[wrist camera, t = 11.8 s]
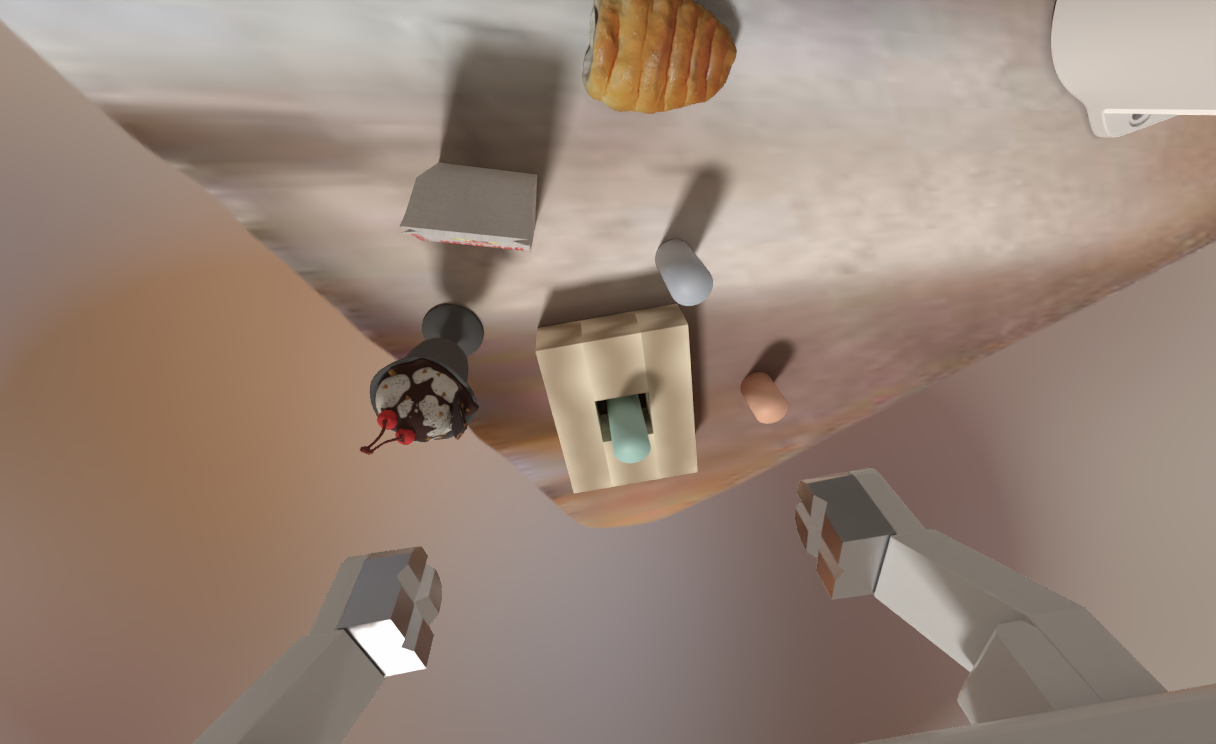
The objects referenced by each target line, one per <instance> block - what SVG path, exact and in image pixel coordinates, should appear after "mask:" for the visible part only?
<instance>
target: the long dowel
mask: <svg viewBox="0 0 1216 744" xmlns="http://www.w3.org/2000/svg"><path fill="white" fill-rule="evenodd" d="M606 403H607V410H608V417H609V424H610V431H611V438H612V445H613V452H614V455H615V457H616V458H617V459H618V460H619V461H621V462H624V463H636V462H639V461H642V460H643V459H645V458H646V457H647V456H648V455H649V453H650V450H651V445H650V441H649V437H648V433H647V429H646V425H645V421H644V417H643V413H642V409H641V405H640V401H639V397H638V394H634V395H629V396H623V397H617V398H611V399H606Z"/></svg>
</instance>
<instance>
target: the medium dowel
mask: <svg viewBox="0 0 1216 744" xmlns="http://www.w3.org/2000/svg"><path fill="white" fill-rule="evenodd" d="M655 263H656V266H657V268H658V270H659V272H660V274H661V276H662V278H663V280H664V282H665V284H666V286H667V288H668V290H669V291H670V293H671V295H672V297H673V299H674V300H675V301H676V302H677V303H679V304H681V305H684V306H693V305H697V304H699V303H701V302H703V301H704V300H705V299H706V298H707V297H708V296H709V294H710V292H711V290H712V287H713V279H712V276H711V274H710V272H709V271H708V270H707V268H706V267H705V266H704V264H703V263H702V262H701V261H700V259H699V258H698V257H697V255H696V254H695V253H694V252H693V250H692V249H691V248H690V246H689V245H688V244H687V243H686V242H684V241H682V240H679V239H672V240H669V241H667V242H665V243H663V244H662V245H661V246H660V247H659V249H658V250H657V253H656V256H655Z"/></svg>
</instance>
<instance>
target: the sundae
mask: <svg viewBox="0 0 1216 744" xmlns="http://www.w3.org/2000/svg"><path fill="white" fill-rule="evenodd" d="M422 332H423V335H424V338H425V341H423V342H422V343H420V344H419V345H418V346H416V347H415V348H414V349H413V350H412V351H411V352H410V353H409V354H408V355H407V356H406V357H405V358H404V359H401V360H398V361H395V362H393V363H391V364H389V365H387V366H386V367H384V368H383V369H381V370H380V371H379V372H378V373H377V374H376V375H375V376H374V378H373V380H372V381H371V385H370V398H371V403H372V406H373V409H374V411H375V413H376V415H377V417H378V418H377V422H378V424H379V425H380V426H381V427H382V431H381V433H380V435H379V436H378V437H377V438H376V440H375V441H374V442H373V443H371V444H370V445H369V446H367V447H366V446H364V447H361V449H360V451H361V452H363V453H366V454H368V455H370V454H372V453H373V451H374V450H376V449H377V448H379V447H380V446H381V445H383V444H385V443H388V442H391V441H396V440H397V441H398V442H399V443H401V444H404V445H408V444H410V443H411V442H413V441H415V442H427V441H430V440H437V439H438V440H440V439H447V438H450V437H453V436H454V437H455V438H456V439H459V438H460V437H461V436H462V435H463V433H464V431H465V430H466V429H467V426H468V424H469V423H470V422H471V420H472V419H473V417H474V414H475V412H476V411H477V410H478V408H479V406H478V405H477V403H476V398H475V395H474V393H473V391H472V390H471V388H470V386H469V385H468V384H467V378H468V361H467V357H466V356H468V355H470V354H472V353H473V352H475V351H476V350H477V349H478V348H479V346H480V345H481V343H482V340H483V329H482V325H481V323H480V321H479V320H478V318H477V317H476V316H475V315H474V314H473V313H472V312H470V311H469V310H467V309H465V308H463V307H461V306H457V305H450V304H449V305H441V306H437V307H436V308H434V309H432V310H431V311H429V312H428V313H427V315H426V316H425V318H424V320H423V324H422ZM385 429H387V430H389V429H391V430H393V431H395V432H396V438H394V439H391V440H387V441H385V442H383V443H382V444H380V445H378V446H377V447H375V448H374V449H372V450H370V447H371V446H372V445H374V444H375V443H376V442H377V441H378V440H379V439H380V437H381V436H382V435H383V433H384V431H385Z"/></svg>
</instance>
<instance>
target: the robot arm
mask: <svg viewBox="0 0 1216 744" xmlns="http://www.w3.org/2000/svg"><path fill="white" fill-rule="evenodd" d="M1051 49H1052V58H1053V62H1054V66H1055V70H1056V72H1057V75H1058V77H1059V79H1060V81H1061V82H1062V84H1063V85H1064V87H1065V88H1066V89H1067V90H1068V91H1069V92H1070V93H1071V94H1072V95H1074V96H1075V97H1076V98H1077V99H1079V100H1080V101H1081V102H1082V103H1083V104H1084V105H1085V107H1086V108H1087V112H1088V117H1089V121H1090V125H1091V128H1092V130H1093V132H1094V134H1095V135H1096V136H1097V137H1101V138H1113V137H1119V136H1123V135H1125V134H1128V133H1131V132H1134V131H1136V130H1139V129H1142V128H1145V127H1147V126H1150V125H1153V124H1156V123H1158V122H1161V121H1164V120H1167V119H1169V118H1172V117H1175V116H1177V115H1216V0H1057V2H1056V6H1055V11H1054V16H1053V22H1052V32H1051ZM797 494H798V496H799V498H800V499H801V502H800V503H799V504H798V505H797V506H796V507H795V522H796V527H797V532H798V534H799V537H800V540H801V542H802V544H803V546H804V548H805V550H806V551H807V552H808V553H810V554H811V555H813V556H814V557H816V558H817V559H818V560H817V567H816V571H817V573H818V575H819V577H820V578H821V580H822V582H823V584H824V586H825V588H826V590H827V592H828V593H829V595H830V597H831V599H832V600H833V599H840V598H847V597H855V596H862V595H868V594H874V596H875V597H876V598H877V599H878V600H880V601H881V602H882V603H883V604H885V605H886V606H887V607H889V608H890V609H891V610H892V611H894V612H895V613H896V614H897V615H899V616H900V617H901V618H902V619H904V620H905V621H906V622H908V623H909V624H910V625H911V626H913V627H914V628H915V629H916V630H918V631H919V632H920V633H922V634H923V635H924V636H925V637H927V638H928V639H929V640H930V641H932V642H933V643H934V644H936V645H937V646H938V647H939V648H941V649H942V650H943V651H944V652H946V653H947V654H948V655H950V656H951V657H952V658H953V659H955V660H956V661H957V662H958V663H960V664H961V665H962V666H963V667H965V668H966V669H967V670H968V671H970V672H971V673H970V675H969V677H968V678H967V680H966V682H965V684H964V686H963V688H962V689H961V691H960V693H959V696H958V700H957V701H958V703H959V705H960V706H961V708H962V709H963V711H964V713H965V714H966V716H967V717H968V719H969V721H970V722H971V724H972V725H966V726H960V727H954V728H949V729H942V730H937V731H931V732H925V733H918V734H912V735H907V736H900V737H894V738H889V739H882V740H876V741H870V742H864V743H859V744H1216V684H1212V685H1206V686H1199V687H1194V688H1187V689H1181V690H1175V691H1169V692H1168V691H1167V690H1166V689H1165V688H1164V687H1163V686H1162V685H1161V684H1160V683H1159V682H1158V681H1157V680H1156V679H1155V678H1154V677H1153V676H1152V675H1151V674H1150V673H1149V672H1148V671H1147V670H1146V669H1145V668H1144V667H1143V666H1142V665H1141V664H1140V663H1139V662H1138V661H1137V660H1136V659H1135V658H1134V657H1133V656H1132V655H1131V654H1130V653H1129V652H1128V651H1127V650H1126V649H1125V648H1124V647H1123V646H1122V645H1121V644H1120V643H1119V642H1118V641H1117V639H1116V638H1114V637H1113V635H1111V634H1110V633H1109V632H1108V631H1107V629H1105V628H1104V626H1103V625H1102V624H1101V623H1100V622H1099V621H1098V620H1096V618H1095V617H1094V616H1093V615H1092V614H1091V613H1090V612H1089V611H1088V610H1087V609H1086V608H1084V607H1082V606H1081V605H1079V604H1077V603H1075V602H1073V601H1071V600H1069V599H1067V598H1065V597H1063V596H1061V595H1059V594H1057V593H1056V592H1054V591H1052V590H1050V589H1048V588H1046V587H1044V586H1042V585H1040V584H1038V583H1037V582H1035V581H1033V580H1031V579H1028V578H1027V577H1025V576H1023V575H1021V574H1019V573H1017V572H1015V571H1013V570H1012V569H1010V568H1008V567H1006V566H1004V565H1002V564H1000V563H998V562H996V561H994V560H992V559H990V558H989V557H987V556H985V555H983V554H981V553H979V552H977V551H975V550H973V549H971V548H969V547H967V546H966V545H963V544H962V543H960V542H958V541H956V540H954V539H952V538H950V537H948V536H946V535H944V534H943V533H941V532H939V531H937V530H935V529H929V530H926V529H925V528H924V527H923V526H922V525H921V523H920V522H919V521H918V520H917V518H916V517H915V516H914V515H913V514H912V512H911V511H910V510H909V509H908V508H907V507H906V505H905V504H904V503H903V501H902V500H901V499H900V498H899V497H898V496H897V494H896V493H895V492H894V491H893V489H892V488H891V487H890V486H889V485H888V483H887V482H886V481H885V480H884V479H883V477H882V476H881V475H880V474H879V472H878V471H876V470H875V469H873V468H869V469H863V470H857V471H851V472H847V473H846V472H844V473H838V474H832V475H827V476H821V477H817V478H811V479H805V480H801V481H800V482H799V484H798V488H797ZM427 557H428V555H427V554H426V552H425V551H424V549H423V548H422V547H412V548H406V549H399V550H391V551H385V552H378V553H371V554H366V555H359V556H352V557H348V558H347V559H346V560H345V561H344V562H343V563H342V564H341V566H340V568H339V570H338V573H337V575H336V577H335V579H334V581H333V583H332V585H331V588H330V590H329V592H328V594H327V596H326V599H325V601H324V603H323V605H322V607H321V609H320V612H319V614H318V616H317V618H316V620H315V623H314V625H313V627H312V629H311V631H310V633H309V635H305V636H302V637H300V638H299V639H298V640H297V641H296V642H295V643H294V644H293V645H292V646H291V647H290V648H289V649H288V650H287V651H286V652H285V653H284V654H283V655H282V656H281V657H280V658H279V659H278V660H277V661H276V662H275V663H274V664H273V665H272V666H271V667H270V668H269V669H268V670H267V671H266V672H265V673H264V674H263V675H261V676H260V677H259V678H258V679H257V680H256V681H255V683H253V684H252V685H251V686H250V687H249V688H248V689H247V690H246V691H245V692H244V693H243V694H242V695H241V696H240V697H239V698H238V699H237V700H236V701H235V702H234V703H233V704H232V705H231V706H230V707H229V708H228V709H227V710H226V711H225V712H224V713H223V714H222V715H221V716H220V717H219V718H218V719H217V720H216V721H215V722H213V724H211V725H210V727H208V728H207V729H206V730H205V731H204V732H203V733H202V734H201V735H200V736H199V737H198V738H197V739H196V740H195V741H194V742H193V743H192V744H341V742H342V741H343V739H344V738H345V736H346V735H347V733H348V732H349V731H350V729H351V728H352V726H353V725H354V723H355V722H356V721H357V719H358V718H359V716H360V715H361V713H362V712H363V711H364V709H365V708H366V706H367V705H368V703H369V702H370V701H371V699H372V698H373V696H374V695H375V693H376V692H377V690H378V689H379V687H380V686H381V685H382V683H383V682H384V680H385V678H384V677H385V676H391V675H395V674H400V673H405V672H410V671H416V670H420V669H426V667H427V663H428V659H429V654H430V650H431V645H432V641H433V637H434V634H433V632H432V630H431V629H430V626H429V625H430V624H431V623H432V621H433V620H434V619H435V618H436V616H437V615H438V614H439V610H440V606H441V601H442V585H441V582H440V577H439V575H438V573H437V571H436V569H434V568H432V567H430V566H429V565H426V561H427Z"/></svg>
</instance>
